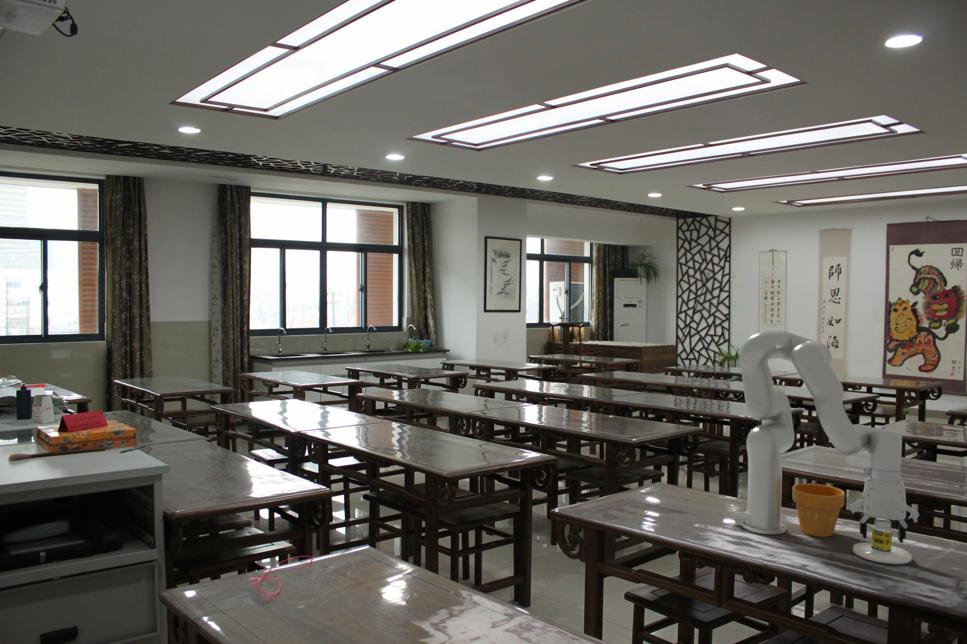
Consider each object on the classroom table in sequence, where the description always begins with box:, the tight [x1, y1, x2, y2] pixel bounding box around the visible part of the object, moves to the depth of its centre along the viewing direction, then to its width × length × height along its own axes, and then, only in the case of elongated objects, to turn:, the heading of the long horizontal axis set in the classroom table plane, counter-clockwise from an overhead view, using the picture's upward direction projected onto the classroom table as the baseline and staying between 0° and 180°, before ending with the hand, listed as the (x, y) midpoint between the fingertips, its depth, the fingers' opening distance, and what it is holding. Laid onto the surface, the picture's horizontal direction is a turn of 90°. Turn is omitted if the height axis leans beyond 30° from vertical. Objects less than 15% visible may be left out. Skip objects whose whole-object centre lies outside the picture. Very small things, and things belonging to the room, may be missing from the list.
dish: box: [852, 542, 913, 565], centre depth 196 cm, size 14×14×2 cm
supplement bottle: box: [870, 518, 893, 554], centre depth 195 cm, size 5×5×8 cm
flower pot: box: [792, 483, 846, 538], centre depth 216 cm, size 14×14×13 cm
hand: (882, 538), depth 195 cm, fingers open, 8 cm apart
